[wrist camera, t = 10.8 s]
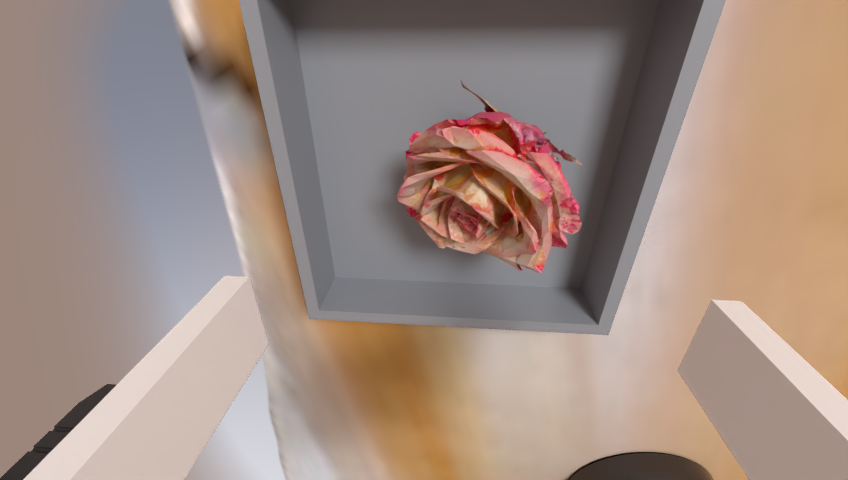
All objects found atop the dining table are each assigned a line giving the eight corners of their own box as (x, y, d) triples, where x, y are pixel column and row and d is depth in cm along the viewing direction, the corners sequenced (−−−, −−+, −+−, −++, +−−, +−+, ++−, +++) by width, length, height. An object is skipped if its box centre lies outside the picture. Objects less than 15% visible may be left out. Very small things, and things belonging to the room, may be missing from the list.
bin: (680, -39, 17) (746, -59, 13) (586, 290, 27) (608, 335, 23) (276, -32, 18) (228, -48, 14) (329, 279, 28) (309, 318, 24)
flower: (502, 12, 16) (405, 105, 13) (653, 140, 17) (603, 267, 13) (429, 137, 25) (359, 215, 21) (531, 220, 25) (480, 310, 22)
